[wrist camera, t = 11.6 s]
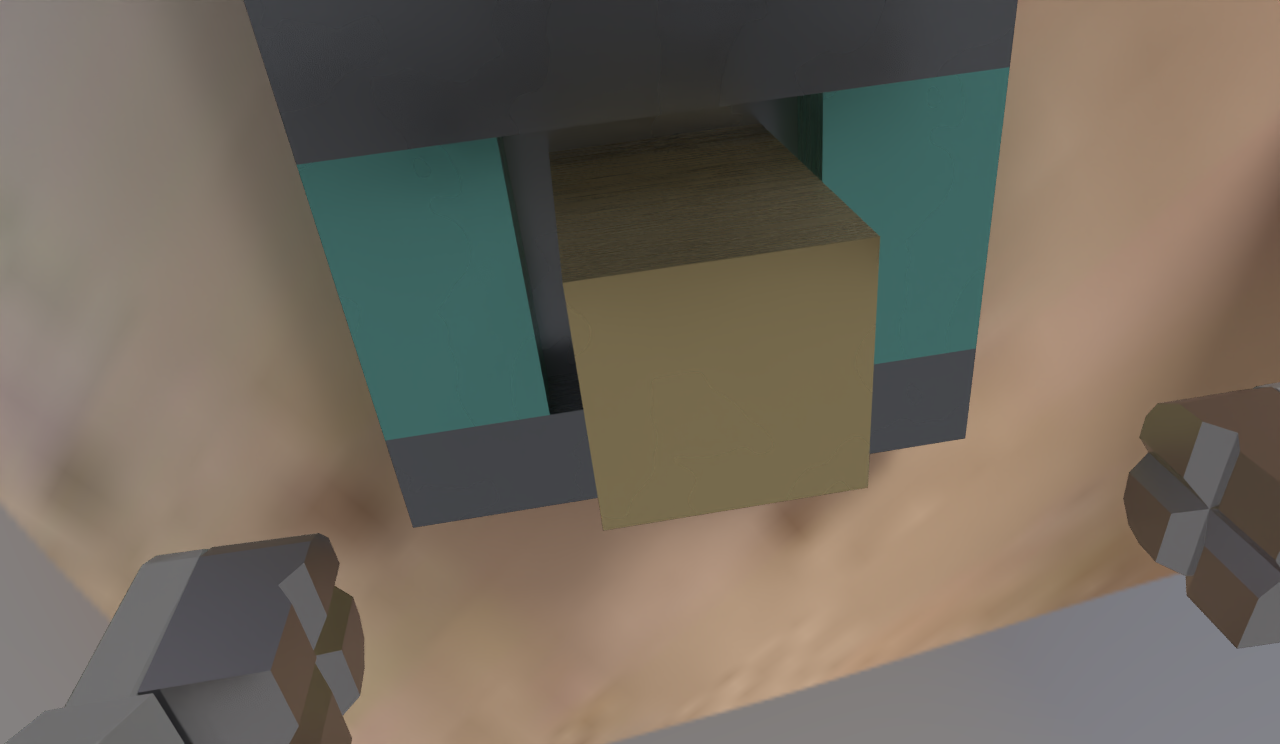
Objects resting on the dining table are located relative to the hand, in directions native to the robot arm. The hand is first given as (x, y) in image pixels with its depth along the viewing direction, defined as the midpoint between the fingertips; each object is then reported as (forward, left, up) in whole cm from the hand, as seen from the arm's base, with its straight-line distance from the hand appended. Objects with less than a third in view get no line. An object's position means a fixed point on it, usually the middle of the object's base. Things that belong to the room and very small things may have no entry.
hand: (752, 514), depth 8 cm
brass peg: (+1, 0, -9) cm, 9 cm away
